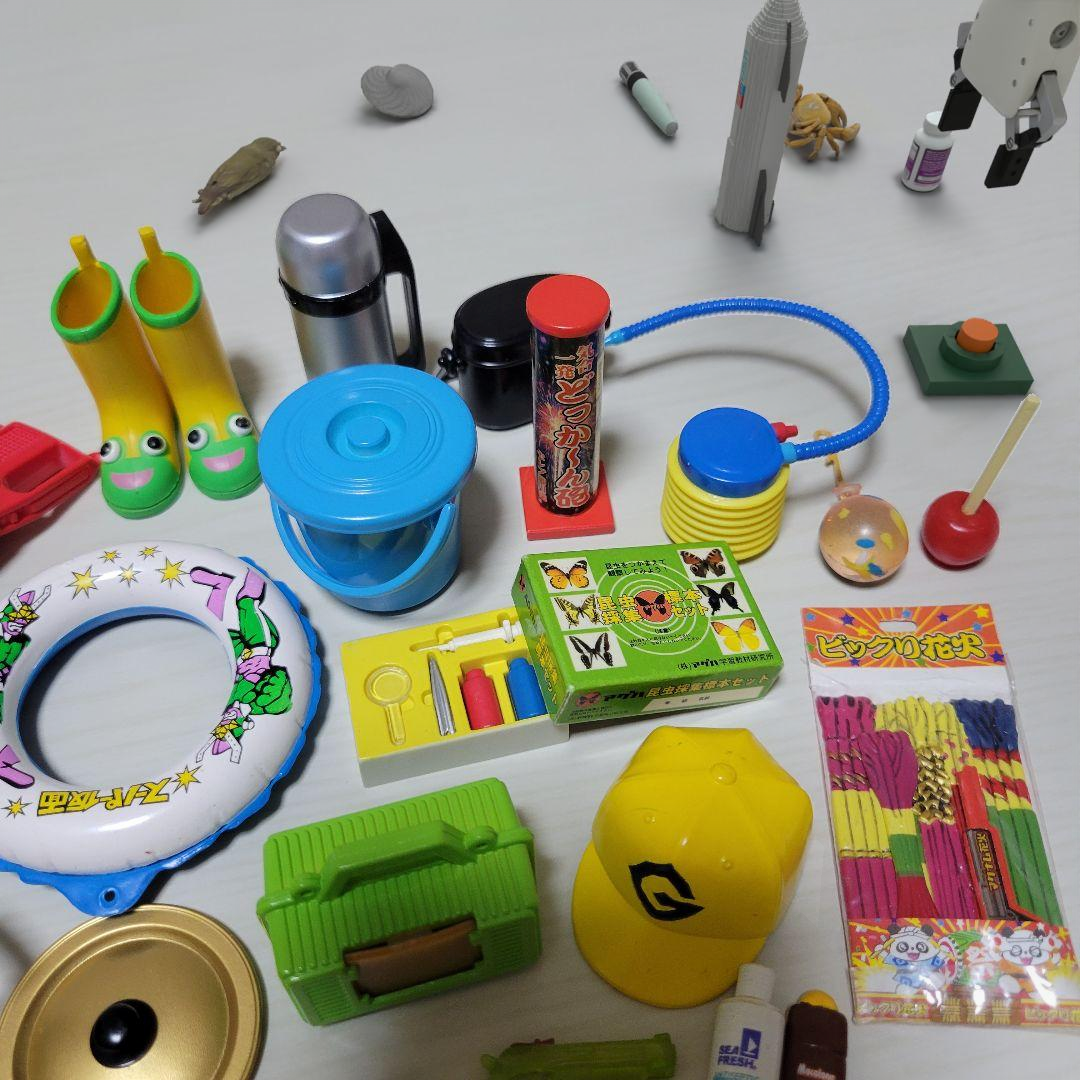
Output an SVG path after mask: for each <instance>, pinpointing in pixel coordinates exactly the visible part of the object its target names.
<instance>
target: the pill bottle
mask: <svg viewBox="0 0 1080 1080" xmlns="http://www.w3.org/2000/svg"><path fill="white" fill-rule="evenodd" d="M942 112H943V111H931V112H928V113H927V114H926V115H925V119H924V120H923V123H922V126H921V127H920V128H918V130H916V132H915V133H914V136H913V140H912V142H911V146H910V149H909V153H908V156H907V159H906V162H905V164H904V167H903V171H902V175H901V180H902V183H903V184H904V185H905V186H906V187H907V188H908V189H910V190H913V191H916V192H930V191H933V190H935V189H936V188H938V187H939V186H940V184H941V181H942V178H943V175H944V172H945V169H946V166H947V163H948V160H949V158H950V155H951V152H952V149H953V146H954V143H955V135H954V133H953V131H946V132H941V131H940V130H939V129H938V123H939V121H940V118H941V115H942Z"/></svg>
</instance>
